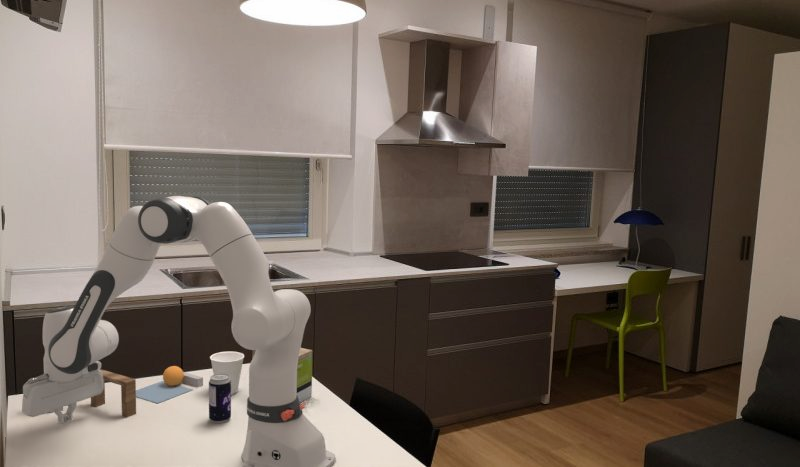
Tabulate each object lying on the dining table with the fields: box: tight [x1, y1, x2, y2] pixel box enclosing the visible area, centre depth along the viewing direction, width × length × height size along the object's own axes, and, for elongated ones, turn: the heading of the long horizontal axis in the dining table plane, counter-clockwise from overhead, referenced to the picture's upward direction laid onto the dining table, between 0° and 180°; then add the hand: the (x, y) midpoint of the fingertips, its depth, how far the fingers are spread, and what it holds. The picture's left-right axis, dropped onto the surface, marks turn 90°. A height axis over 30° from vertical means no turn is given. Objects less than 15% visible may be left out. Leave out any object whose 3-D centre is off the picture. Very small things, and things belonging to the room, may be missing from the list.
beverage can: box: [208, 374, 232, 424], centre depth 174 cm, size 6×6×12 cm
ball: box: [162, 365, 184, 386], centre depth 198 cm, size 6×6×6 cm
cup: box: [209, 351, 245, 396], centre depth 194 cm, size 10×10×11 cm
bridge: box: [90, 368, 137, 418], centre depth 179 cm, size 15×3×10 cm, turn 61°
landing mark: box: [136, 380, 194, 404], centre depth 193 cm, size 13×13×1 cm
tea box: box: [251, 347, 313, 404], centre depth 191 cm, size 15×10×15 cm, turn 62°
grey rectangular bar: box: [180, 371, 204, 388], centre depth 201 cm, size 12×2×2 cm, turn 61°
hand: (65, 421), depth 167 cm, fingers closed
